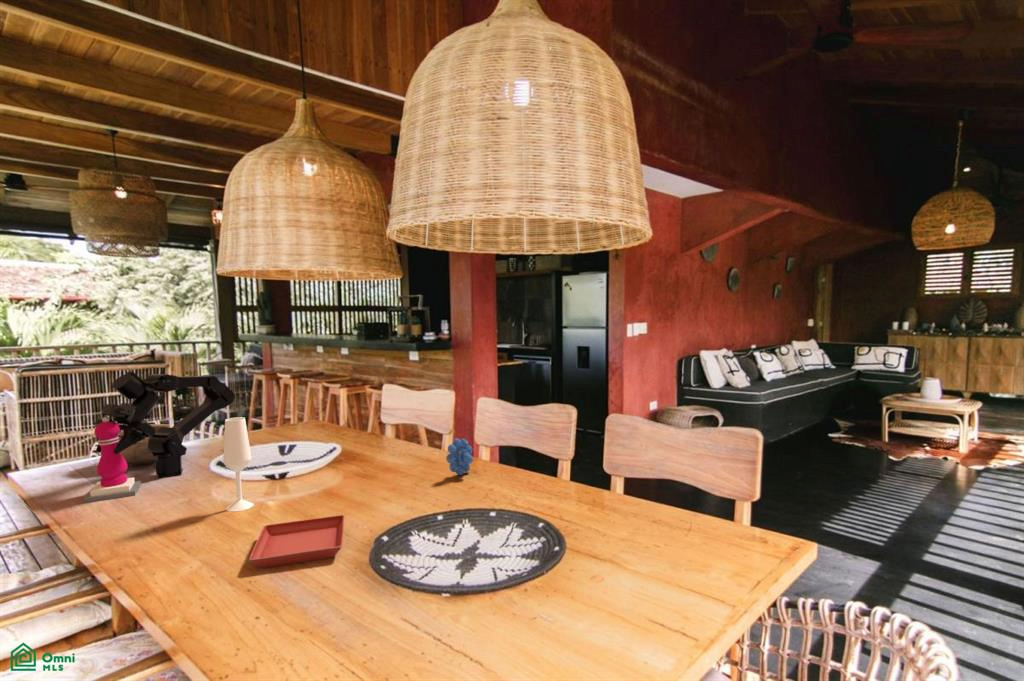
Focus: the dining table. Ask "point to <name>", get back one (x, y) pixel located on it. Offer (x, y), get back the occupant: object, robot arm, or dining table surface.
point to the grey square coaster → (112, 491)
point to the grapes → (459, 456)
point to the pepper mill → (110, 454)
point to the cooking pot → (140, 450)
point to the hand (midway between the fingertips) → (105, 452)
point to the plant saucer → (298, 541)
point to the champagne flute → (237, 456)
